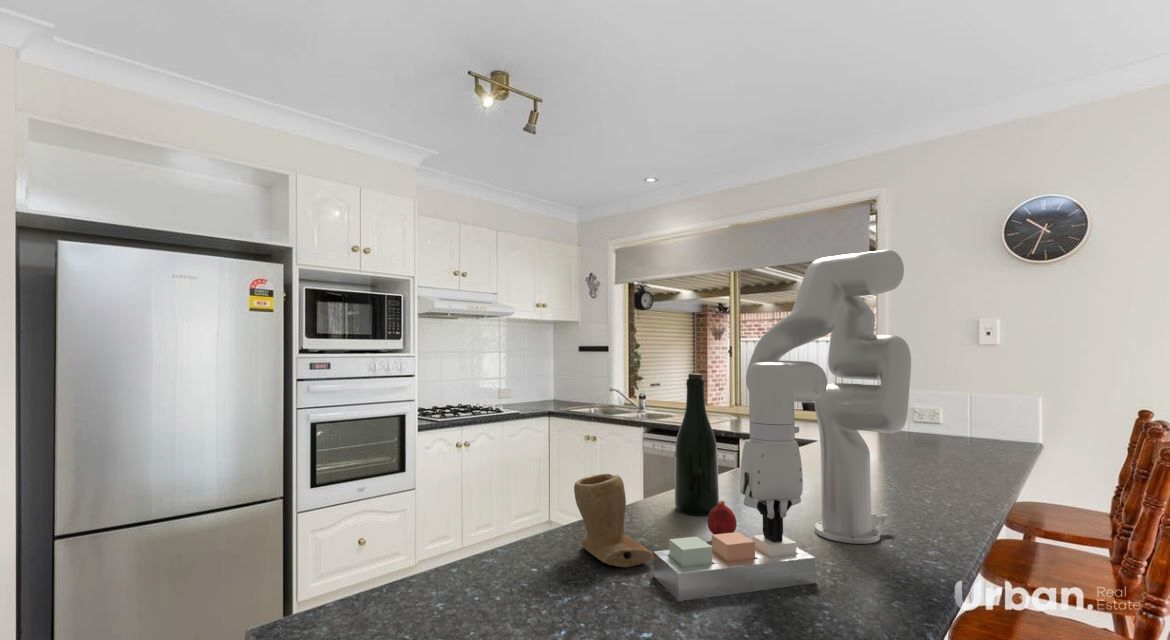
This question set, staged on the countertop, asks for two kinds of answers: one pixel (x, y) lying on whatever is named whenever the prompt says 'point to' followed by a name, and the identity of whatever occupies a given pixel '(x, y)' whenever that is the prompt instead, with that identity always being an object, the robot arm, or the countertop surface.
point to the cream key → (774, 546)
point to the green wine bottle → (696, 455)
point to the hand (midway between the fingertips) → (773, 539)
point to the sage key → (690, 552)
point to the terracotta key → (733, 547)
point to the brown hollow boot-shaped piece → (607, 521)
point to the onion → (721, 519)
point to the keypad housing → (733, 575)
